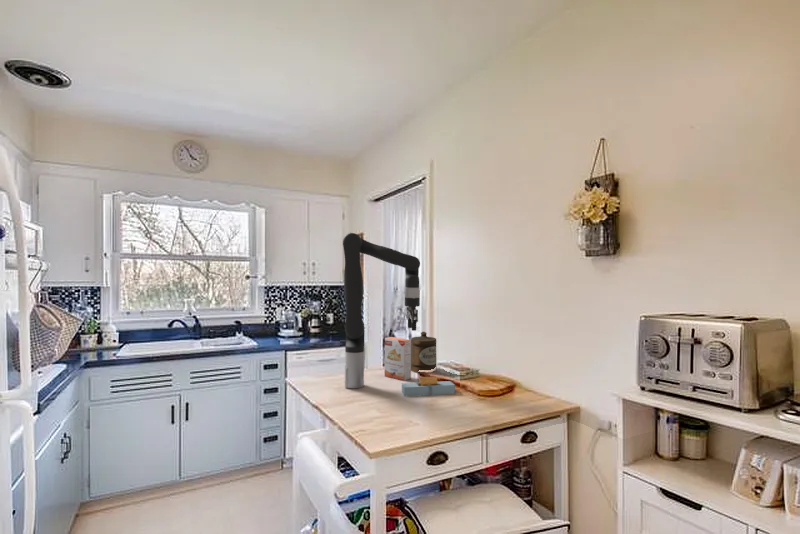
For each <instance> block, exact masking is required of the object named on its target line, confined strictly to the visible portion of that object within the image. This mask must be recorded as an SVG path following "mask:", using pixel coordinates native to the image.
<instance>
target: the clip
mask: <svg viewBox="0 0 800 534" xmlns="http://www.w3.org/2000/svg"><path fill="white" fill-rule="evenodd" d="M418 378H419V379H418V383H419V386H425V385H431V386H433V385H437V382H438V377H437V376H424V377H423V376H420V377H418Z"/></svg>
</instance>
